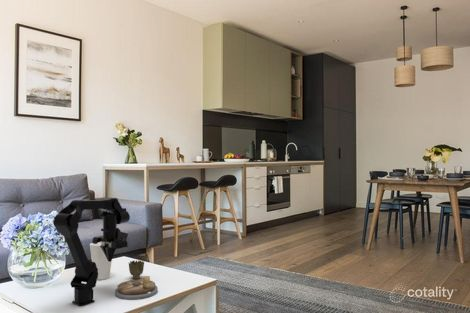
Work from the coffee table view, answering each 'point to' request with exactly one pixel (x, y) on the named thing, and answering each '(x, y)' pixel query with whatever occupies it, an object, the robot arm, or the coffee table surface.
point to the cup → (100, 261)
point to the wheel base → (137, 296)
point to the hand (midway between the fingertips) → (109, 261)
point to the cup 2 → (136, 268)
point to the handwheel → (136, 286)
